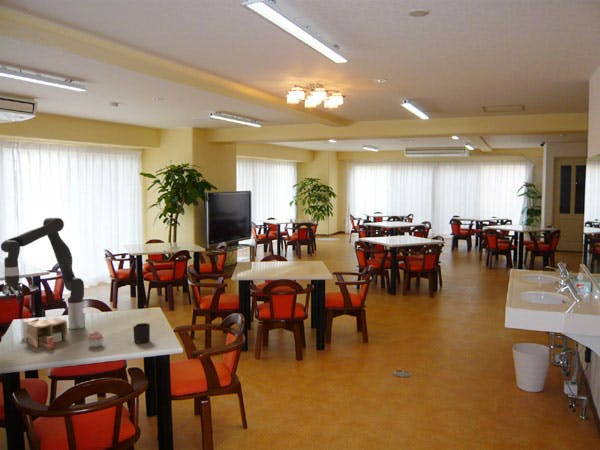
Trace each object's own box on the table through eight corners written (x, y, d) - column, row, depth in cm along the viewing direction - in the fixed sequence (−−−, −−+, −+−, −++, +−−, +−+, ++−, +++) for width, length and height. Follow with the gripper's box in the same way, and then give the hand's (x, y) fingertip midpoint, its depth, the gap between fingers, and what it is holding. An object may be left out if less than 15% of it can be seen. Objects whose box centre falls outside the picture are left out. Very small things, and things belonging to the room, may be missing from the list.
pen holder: (131, 341, 316) (130, 325, 315) (146, 338, 322) (145, 322, 321) (137, 345, 308) (137, 328, 308) (152, 341, 314) (152, 325, 314)
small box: (30, 338, 324) (30, 321, 323) (22, 338, 325) (22, 321, 324) (39, 335, 331) (38, 318, 331) (31, 334, 333) (31, 318, 332)
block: (58, 339, 322) (58, 331, 322) (61, 340, 319) (61, 332, 318) (50, 340, 319) (49, 332, 318) (53, 342, 315) (52, 334, 315)
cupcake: (91, 343, 312) (90, 327, 311) (106, 343, 312) (106, 327, 311) (84, 348, 303) (83, 331, 302) (100, 348, 302) (99, 331, 302)
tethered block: (44, 342, 316) (44, 330, 315) (56, 348, 303) (56, 336, 302) (36, 344, 312) (35, 332, 312) (47, 350, 299) (47, 338, 299)
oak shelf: (58, 336, 328) (57, 317, 327) (67, 340, 318) (66, 321, 317) (27, 342, 315) (26, 322, 314) (36, 347, 306) (35, 327, 305)
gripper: (26, 274, 310) (27, 301, 311) (8, 272, 315) (10, 299, 316) (15, 276, 303) (16, 303, 304) (-3, 274, 308) (-1, 302, 309)
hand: (13, 301), depth 310 cm, fingers open, 8 cm apart
